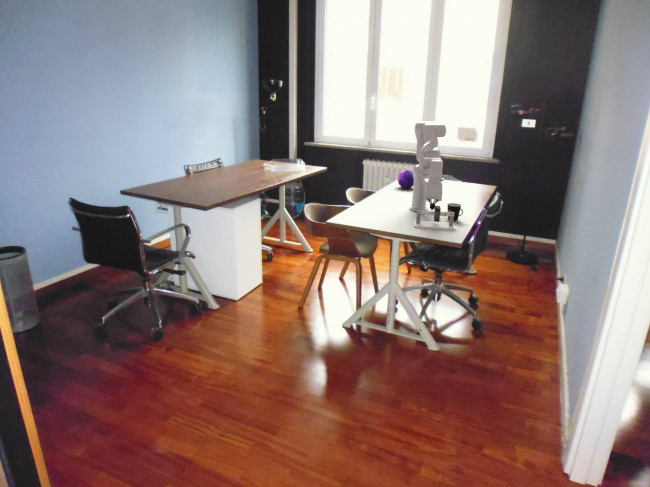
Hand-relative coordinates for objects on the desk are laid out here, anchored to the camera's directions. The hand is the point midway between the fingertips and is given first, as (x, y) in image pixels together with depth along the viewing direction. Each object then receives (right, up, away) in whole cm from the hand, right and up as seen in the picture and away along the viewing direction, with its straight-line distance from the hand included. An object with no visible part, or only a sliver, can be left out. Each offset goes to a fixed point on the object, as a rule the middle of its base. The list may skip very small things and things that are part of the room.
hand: (432, 209), depth 294 cm
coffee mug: (+17, -6, +16) cm, 24 cm away
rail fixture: (+2, -10, +3) cm, 11 cm away
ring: (+3, -6, +2) cm, 7 cm away
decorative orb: (+2, +25, +106) cm, 109 cm away
